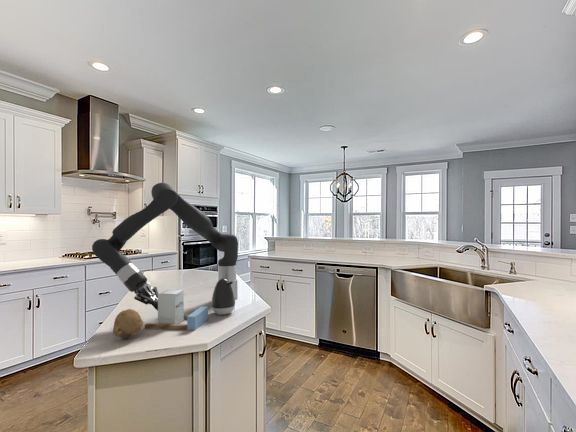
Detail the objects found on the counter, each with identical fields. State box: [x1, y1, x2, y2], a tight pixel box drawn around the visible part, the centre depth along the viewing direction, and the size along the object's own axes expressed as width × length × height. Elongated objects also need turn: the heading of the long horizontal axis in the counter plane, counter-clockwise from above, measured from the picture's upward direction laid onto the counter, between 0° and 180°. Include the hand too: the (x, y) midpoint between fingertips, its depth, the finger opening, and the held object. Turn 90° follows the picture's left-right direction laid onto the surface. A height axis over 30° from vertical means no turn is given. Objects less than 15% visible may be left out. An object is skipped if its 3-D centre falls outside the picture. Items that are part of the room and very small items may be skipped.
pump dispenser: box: [210, 278, 236, 316], centre depth 133 cm, size 10×10×15 cm
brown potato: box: [112, 308, 144, 340], centre depth 106 cm, size 9×9×10 cm
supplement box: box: [157, 289, 185, 324], centre depth 121 cm, size 7×7×13 cm
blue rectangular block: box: [186, 306, 209, 331], centre depth 120 cm, size 3×13×5 cm, turn 174°
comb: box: [143, 314, 190, 331], centre depth 121 cm, size 17×13×2 cm
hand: (160, 308), depth 121 cm, fingers closed
